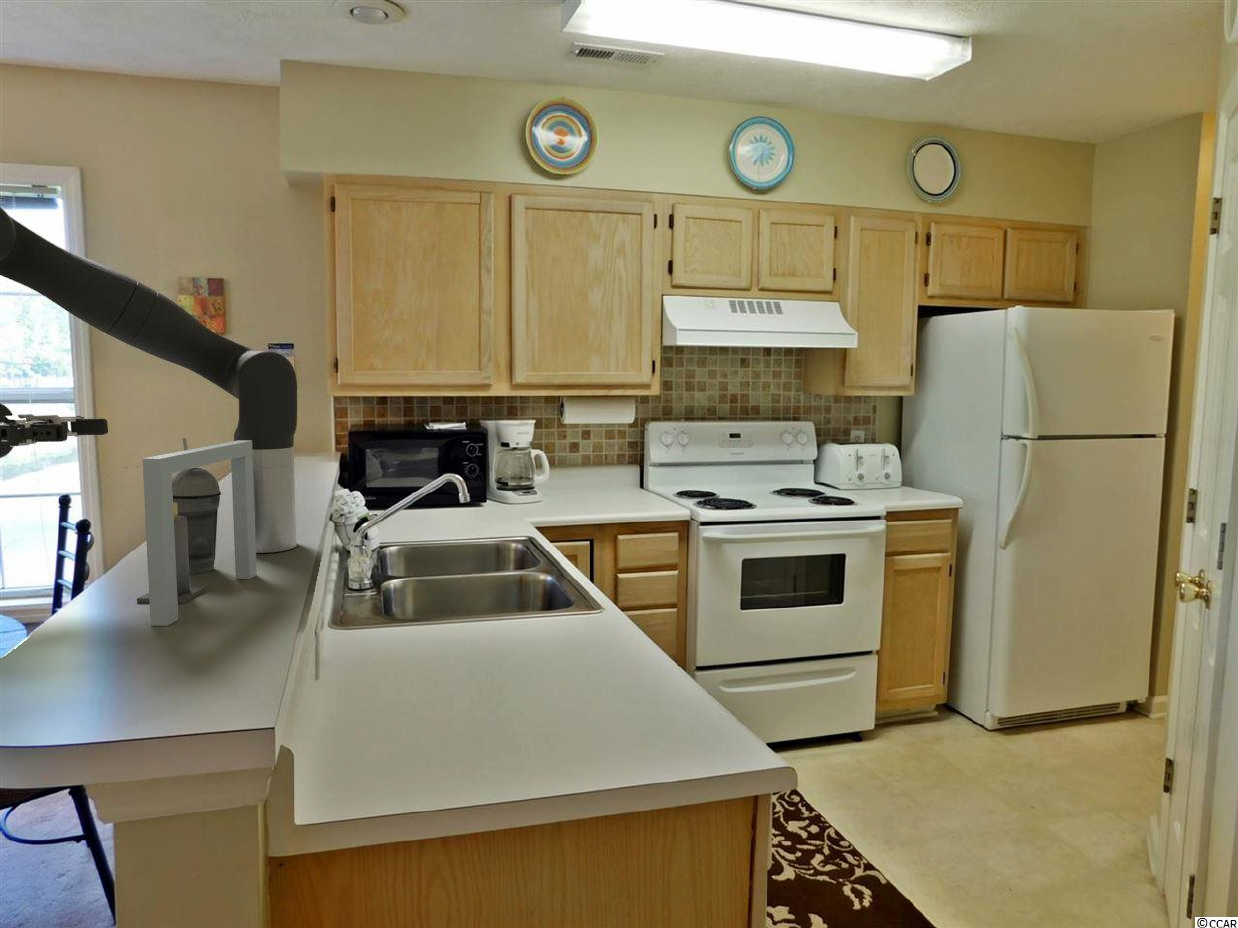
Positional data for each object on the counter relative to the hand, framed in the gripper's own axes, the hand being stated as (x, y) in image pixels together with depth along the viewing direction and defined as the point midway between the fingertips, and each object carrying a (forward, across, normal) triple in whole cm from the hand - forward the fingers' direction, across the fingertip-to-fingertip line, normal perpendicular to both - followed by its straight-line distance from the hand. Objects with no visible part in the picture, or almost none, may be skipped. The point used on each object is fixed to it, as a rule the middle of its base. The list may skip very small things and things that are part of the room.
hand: (86, 429), depth 111 cm
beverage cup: (+6, +14, +23) cm, 28 cm away
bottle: (+10, -1, +22) cm, 24 cm away
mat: (+10, -1, +22) cm, 25 cm away
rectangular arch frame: (+15, -1, +23) cm, 27 cm away
